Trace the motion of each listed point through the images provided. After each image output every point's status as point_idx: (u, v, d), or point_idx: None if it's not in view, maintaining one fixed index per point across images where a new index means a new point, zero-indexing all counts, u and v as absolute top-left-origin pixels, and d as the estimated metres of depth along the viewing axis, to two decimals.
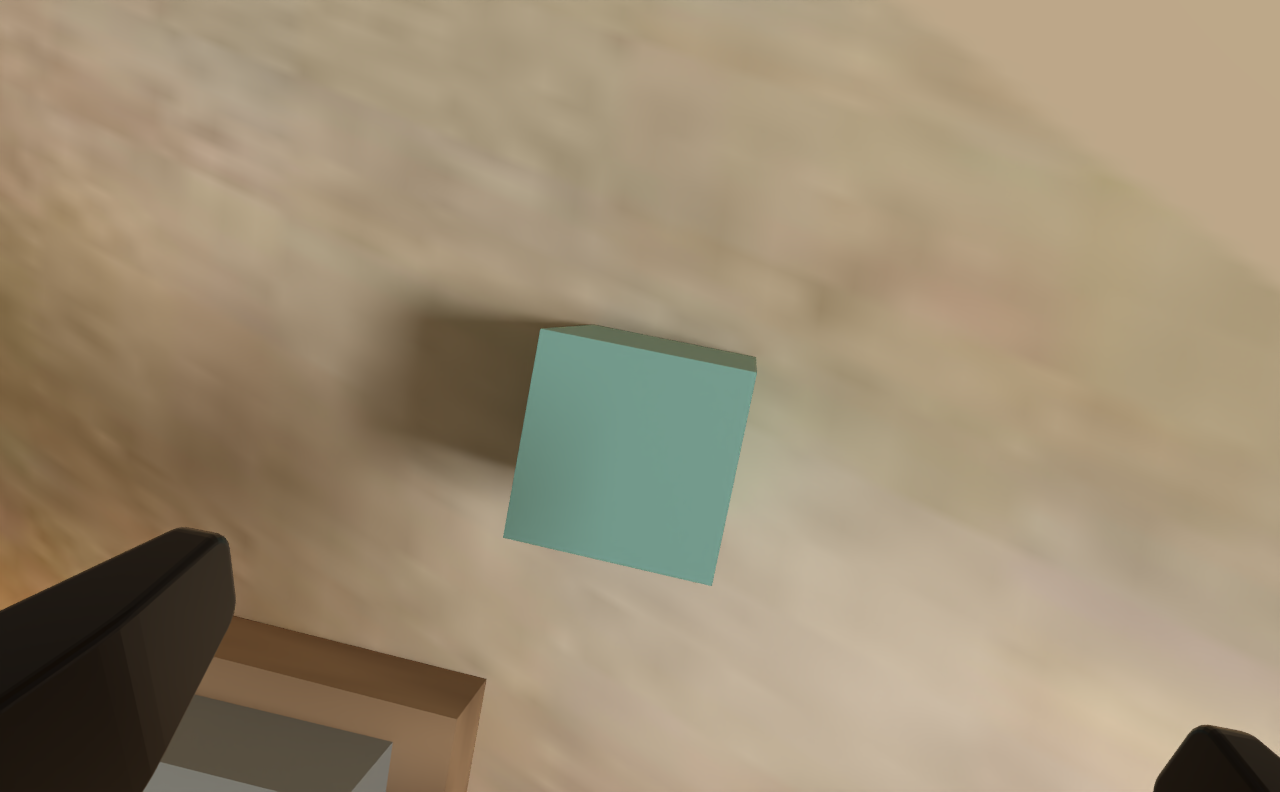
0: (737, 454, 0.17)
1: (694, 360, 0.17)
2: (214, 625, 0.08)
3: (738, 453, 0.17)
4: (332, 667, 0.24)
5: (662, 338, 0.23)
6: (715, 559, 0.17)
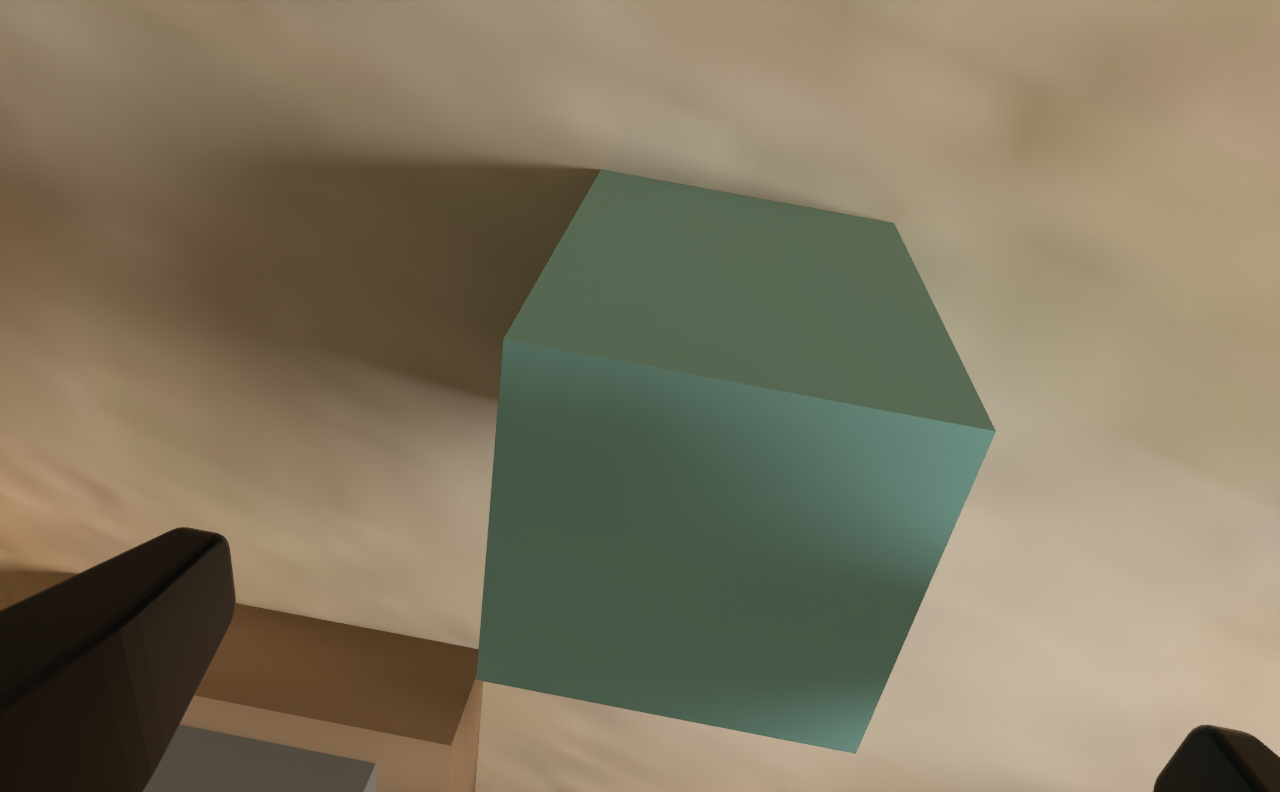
0: (929, 571, 0.08)
1: (854, 404, 0.08)
2: (214, 625, 0.08)
3: (931, 570, 0.08)
4: (271, 666, 0.17)
5: (726, 193, 0.13)
6: (865, 718, 0.10)
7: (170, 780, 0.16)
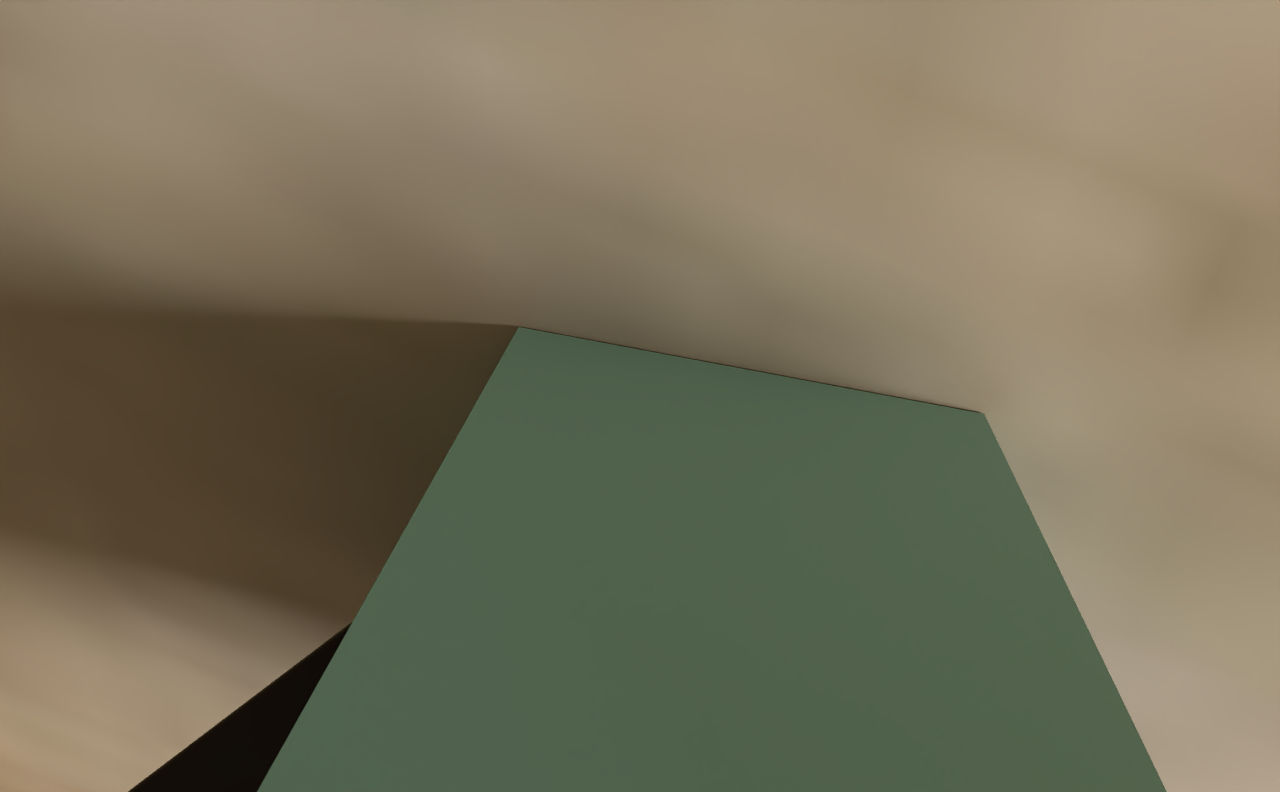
0: None
1: None
2: None
3: None
4: None
5: (716, 367, 0.08)
6: None
7: None
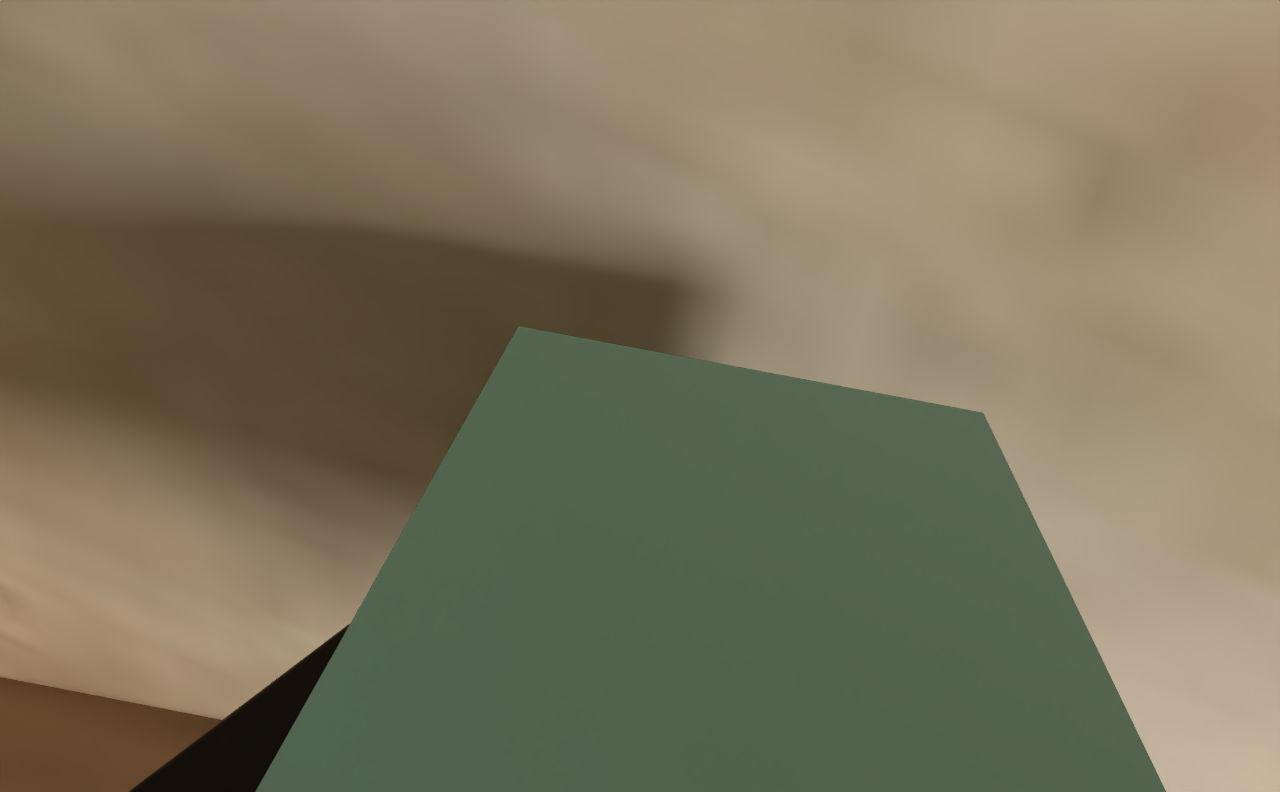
0: None
1: None
2: None
3: None
4: None
5: (716, 366, 0.08)
6: None
7: None
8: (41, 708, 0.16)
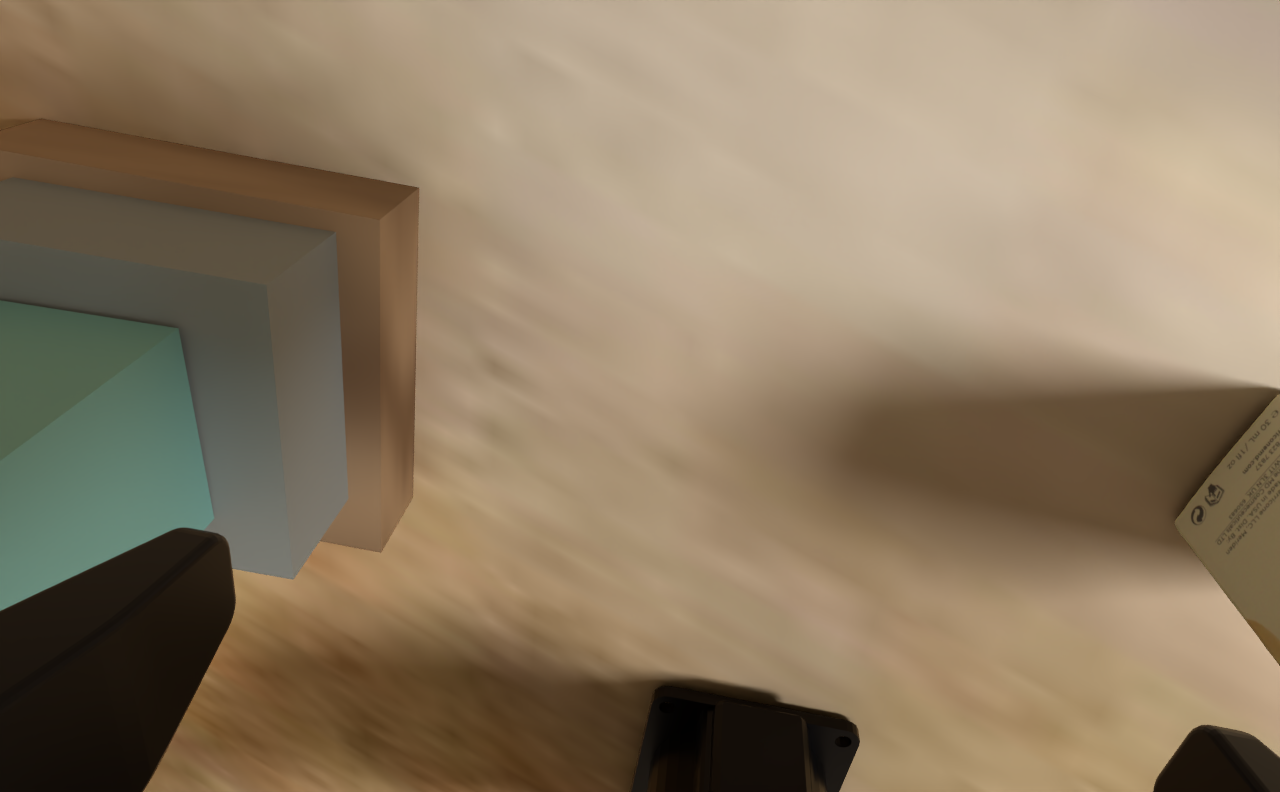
0: None
1: None
2: (214, 625, 0.08)
3: None
4: (215, 173, 0.18)
5: (41, 309, 0.16)
6: None
7: (141, 221, 0.17)
8: (85, 131, 0.19)
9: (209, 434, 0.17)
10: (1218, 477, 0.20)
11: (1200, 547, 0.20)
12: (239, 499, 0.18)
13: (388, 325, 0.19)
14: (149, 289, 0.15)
